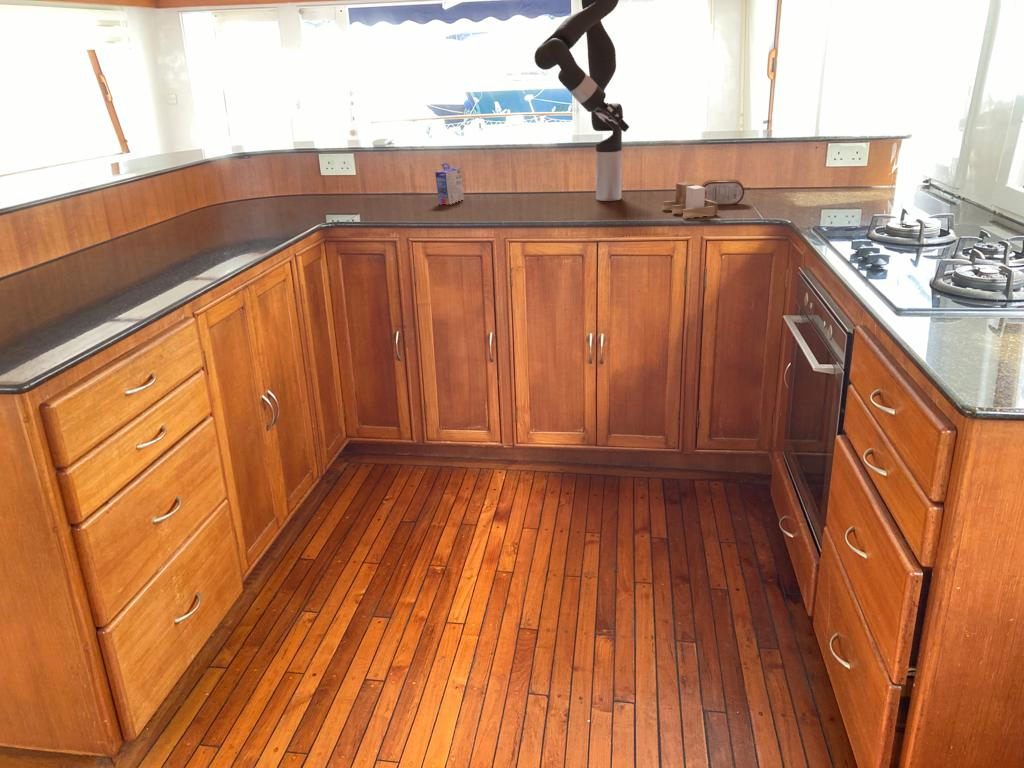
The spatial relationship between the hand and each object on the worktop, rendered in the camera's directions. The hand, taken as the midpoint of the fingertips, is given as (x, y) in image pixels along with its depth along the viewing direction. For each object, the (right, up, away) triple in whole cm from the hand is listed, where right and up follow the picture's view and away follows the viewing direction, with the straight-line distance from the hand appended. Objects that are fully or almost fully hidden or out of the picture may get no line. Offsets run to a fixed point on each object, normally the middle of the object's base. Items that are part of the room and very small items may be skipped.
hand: (621, 128), depth 254 cm
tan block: (+23, -23, +13) cm, 35 cm away
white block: (+25, -26, +6) cm, 37 cm away
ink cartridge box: (-58, -13, +49) cm, 77 cm away
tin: (+37, -20, +20) cm, 47 cm away
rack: (+24, -25, +10) cm, 36 cm away
